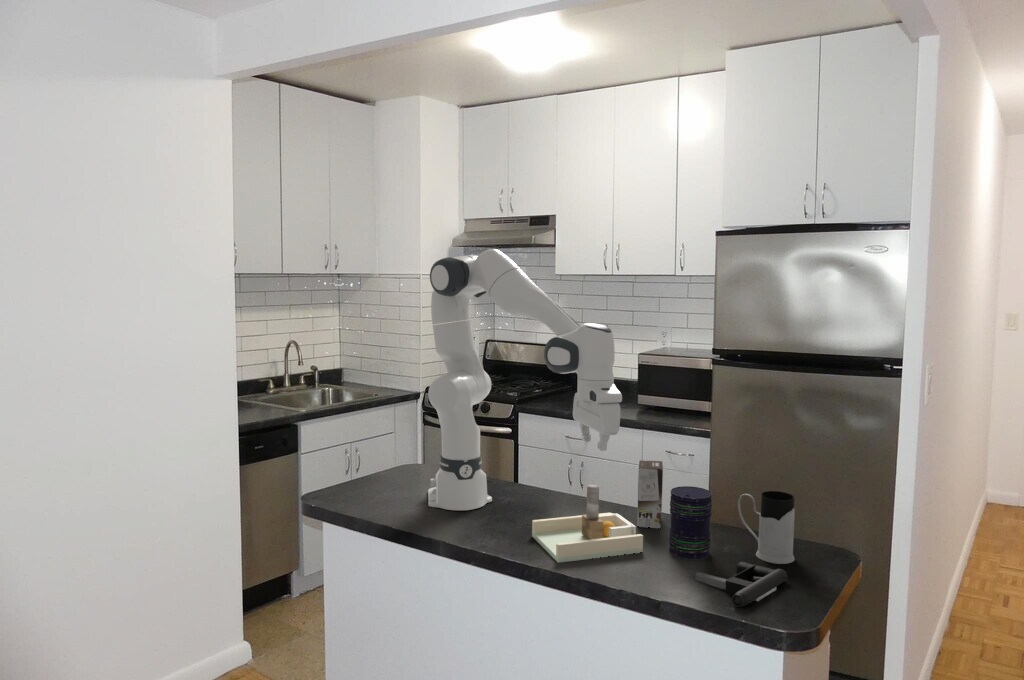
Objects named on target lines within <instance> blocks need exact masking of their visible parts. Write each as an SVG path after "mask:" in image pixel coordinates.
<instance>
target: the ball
mask: <svg viewBox="0 0 1024 680" xmlns="http://www.w3.org/2000/svg"><path fill="white" fill-rule="evenodd" d="M609 527H615V525H614V524H613V523H612V522H610V521H605V522H603V536H604V537H607V538H609Z"/></svg>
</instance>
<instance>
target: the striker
mask: <svg viewBox="0 0 1024 680" xmlns="http://www.w3.org/2000/svg"><path fill="white" fill-rule="evenodd" d="M599 504H600V486H599V485H596V484H588V485H586V514H581V515H582V535H583V536H584V537H586V538H587V539H588V540H591V539H600V538H603V521H602V520H600V519H599V514H600V513H599V512H600V510H599V509H600V505H599Z"/></svg>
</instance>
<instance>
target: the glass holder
mask: <svg viewBox="0 0 1024 680" xmlns="http://www.w3.org/2000/svg"><path fill="white" fill-rule="evenodd" d="M760 495H761V496H760V512H759V511H757V504H756V503H757V502H756V499H755V498H754V497H753V495H752V494H749V493H743V494H741V495H740V496H739V497H738V500H737V510H738V515H739V518H740V519H741V522H742V524H743V525H744V526H745V528H746V529H747V531H748V532H749V533H750V534H751V535H752V536H753V537H754V539H755V540H756V541H757V545H758V546H757V551H756V553H755V556H756V557H757V558H758V559H759V560H762V561H763V562H767V563H771V564H776V565H777V564H778V565H782V564H783V565H785V564H786V565H787V564H790V563H793V562H794V561H795V560H796V559H795V556H794V536H795V534H794V533H795V512H796V509H795V496H794V495H793V494H792V493H787V492H785V491H779V490H778V491H776V490H768V491H762V492H761V494H760ZM743 496H748V498H750V499H751V500H752V503H753V511H754V513H755V514H757V515H759V516H758V517H759V518H758V519H759V521H758V523H759V524H758V536H757V535H756V533H755V532H754V531H753V530H752V529H751V528H750V527H749V525H748V524H747V522H746V521H745V519H744V517H743V514H742V510H741V498H742V497H743Z"/></svg>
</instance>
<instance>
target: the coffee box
mask: <svg viewBox="0 0 1024 680" xmlns="http://www.w3.org/2000/svg"><path fill="white" fill-rule="evenodd" d="M638 462H639V464H638V477H637V478H638V479H637V480H638V481H637V513H636V514H637V518H636V520H637V522H636V527H637V526H639V528H648V527H650V528H649V529H658V528H659V529H661V523H662V511H663V510H662V509H663V485H664V484H663V483H664V482H663V481H664V480H663V479H664V476H663V475H664V473H663V472H664V466H663V465H664V464H663V461H662V460H641V459H640V460H639V461H638Z"/></svg>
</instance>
